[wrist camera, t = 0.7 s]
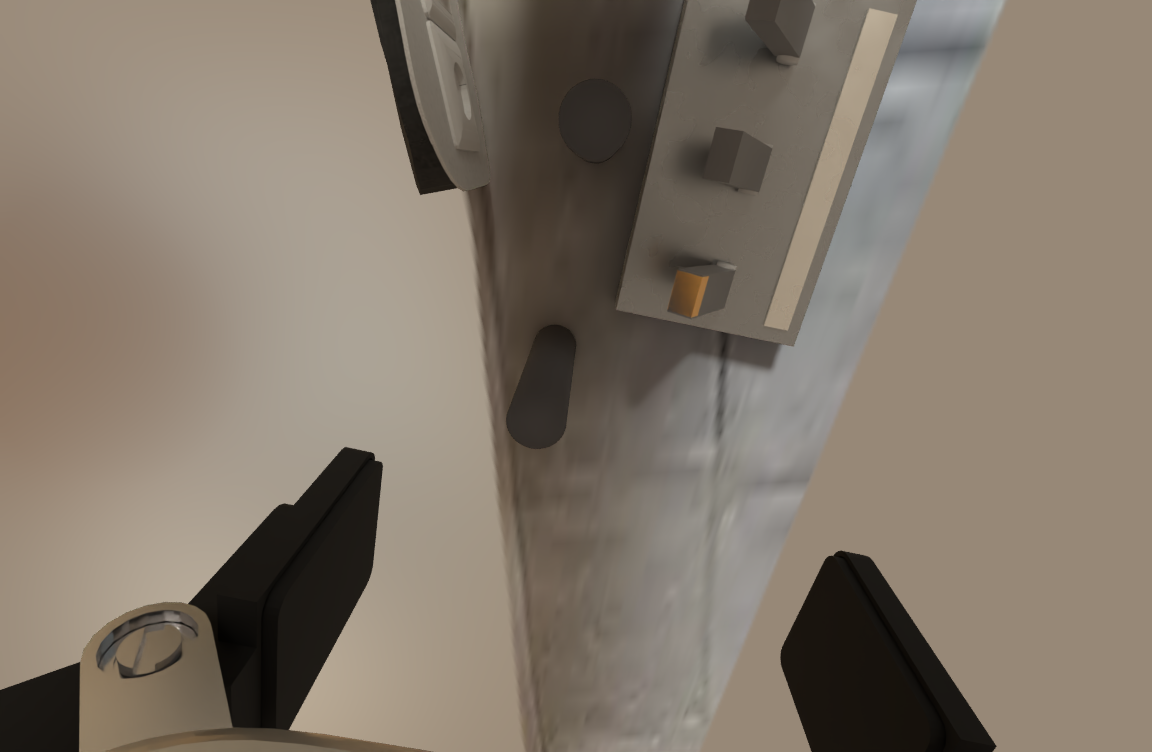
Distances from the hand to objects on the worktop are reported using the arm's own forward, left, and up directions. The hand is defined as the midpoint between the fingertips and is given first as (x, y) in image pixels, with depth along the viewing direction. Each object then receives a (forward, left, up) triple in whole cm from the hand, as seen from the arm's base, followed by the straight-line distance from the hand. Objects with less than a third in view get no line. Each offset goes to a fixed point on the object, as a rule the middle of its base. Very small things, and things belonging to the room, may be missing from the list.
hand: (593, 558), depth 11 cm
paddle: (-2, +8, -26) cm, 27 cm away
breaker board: (-9, +8, -29) cm, 31 cm away
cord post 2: (-9, -2, -29) cm, 30 cm away
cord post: (+5, -2, -29) cm, 29 cm away
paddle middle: (-9, +8, -26) cm, 28 cm away
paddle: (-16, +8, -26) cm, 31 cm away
